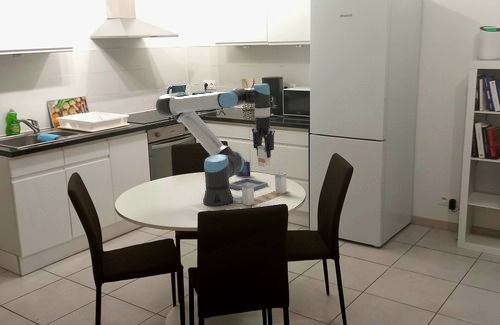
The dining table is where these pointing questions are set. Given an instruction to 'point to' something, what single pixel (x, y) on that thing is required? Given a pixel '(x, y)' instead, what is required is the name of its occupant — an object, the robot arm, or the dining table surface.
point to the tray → (238, 184)
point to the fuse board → (265, 198)
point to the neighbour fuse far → (280, 182)
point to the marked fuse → (261, 156)
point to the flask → (245, 169)
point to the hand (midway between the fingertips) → (264, 163)
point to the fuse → (248, 193)
